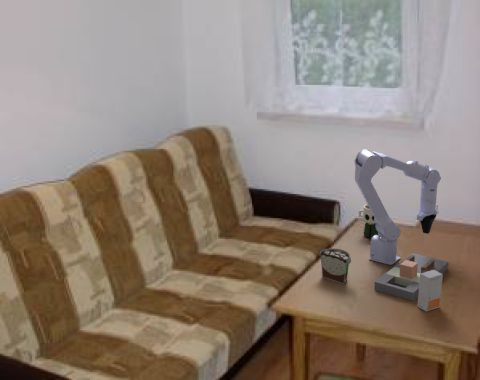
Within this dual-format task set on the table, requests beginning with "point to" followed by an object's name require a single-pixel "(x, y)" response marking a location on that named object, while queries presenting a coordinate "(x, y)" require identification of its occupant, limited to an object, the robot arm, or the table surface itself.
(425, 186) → the robot arm
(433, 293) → the skincare box
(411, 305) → the table surface
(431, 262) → the tunnel walls
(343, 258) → the food container
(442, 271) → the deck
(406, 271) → the terracotta block
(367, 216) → the character mug
